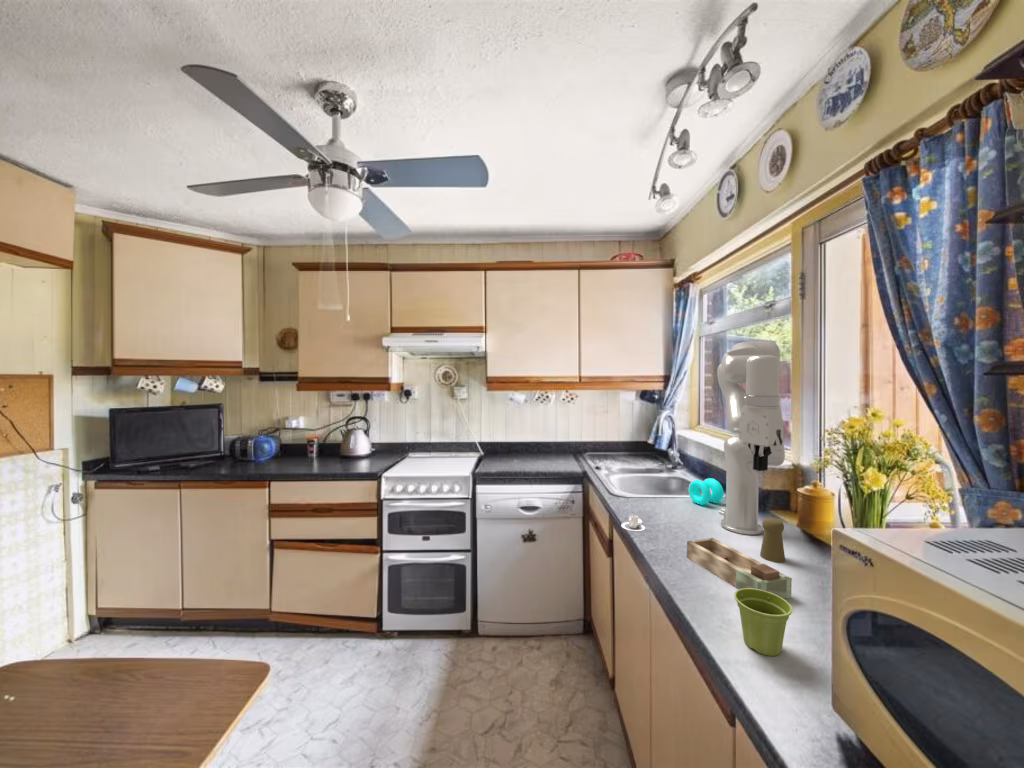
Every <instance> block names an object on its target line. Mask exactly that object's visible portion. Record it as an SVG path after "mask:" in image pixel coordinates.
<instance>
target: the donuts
mask: <svg viewBox="0 0 1024 768" xmlns="http://www.w3.org/2000/svg"><path fill="white" fill-rule="evenodd" d="M687 489H688V490H687V491H688V495H689V497H690V499H691V501H692V502H693V503H695V504H696V503H697V504H696V505H698V504H700V505H699V506H705V505H707V504H708V503H711V502H713V503H712V504H718V503H720V502H721V501H722V500H723V498H724V494H725V493H724V488H723V486H722V484H721V483H720V481H718V480H716V479H715V478H712V477H711V478H710V477H708V478H705V479H704V480H701V479H694V480H692V481H691V482H690V483H689V484H688V488H687ZM710 489H711V490H710ZM700 491H701V492H700ZM709 501H710V502H709Z"/></svg>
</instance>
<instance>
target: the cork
mask: <svg viewBox="0 0 1024 768" xmlns="http://www.w3.org/2000/svg"><path fill="white" fill-rule="evenodd" d="M761 524H762V525H761V526H762V527H763V536H762V543H761V547H760V553H759V555H760V557H761V558H762V559H764V560H766V561H769V562H772V563H785V562H786V557H785V556H786V555H785V547H784V542H783V534H782V533H783V532H784V531H785V526H784V523H783V521H781V520H780V519H778V518H772V517H766V518H764V519H763V520H762V523H761Z"/></svg>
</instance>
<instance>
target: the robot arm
mask: <svg viewBox="0 0 1024 768" xmlns="http://www.w3.org/2000/svg"><path fill="white" fill-rule="evenodd" d="M780 359H781V350H780V347H779V346H778V344H777V343H776V342H774V341H769V340H767V341H742V342H737V343H736V344H734V345H733V346H731V348H730V350H729V351H727V352H725V353H724V354H723V356H722V358H721V363H720V364H719V365H718V366H717V371H716V374H717V381H718V382H717V383H718V386H719V388H720V390H721V393H722V394H723V396H724V400H725V410H726V411H725V415H726V423H727V424H726V425H727V428H728V429H727V430H728V431H729V433H732V434H734V435H732V436H728V437H727V438H725V439H724V442H723V452H724V457H725V471H726V472H725V474H726V476H725V477H726V478H725V479H726V480H725V481H726V482H725V483H726V487H725V489H726V490H725V500H726V501H725V507H722V508H721V509H720V510H718V514H719V515H721V516H723V518H722V519H721V520H720V526H721V527H722V528H724V529H726V530H727V531H730V532H733V533H736V534H741V535H750V536H751V535H752V536H754V535H755V536H756V535H760V534H764V528H763V525H761V524H759V481H760V480H759V477H758V475H757V474H756V473H755V471H757V472H764V471H768V467H779V466H781V465H783V463H784V462H785V460H786V459H785V457H786V453H785V452H786V450H785V444H784V421H783V415H782V414H783V413H782V410H781V408H780V378H781V377H780V376H781V374H782V362H781V361H780ZM740 384H745V388H744V387H743V386H741V385H740ZM750 466H752V468H751V467H750ZM754 470H755V471H754Z"/></svg>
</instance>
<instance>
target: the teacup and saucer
mask: <svg viewBox="0 0 1024 768" xmlns="http://www.w3.org/2000/svg"><path fill="white" fill-rule="evenodd" d="M626 525H629V527H630V528H632V529H630V528H627V527H626ZM638 526H639V527H641V528H639V529H636V528H638ZM621 528H623V529H625V530H626V531H631V532H641V531H644V530H646V527H645V525H643V520H642V519H641V518H639V516H638V515H635V514H630V515H628V521H626V522H623V523H621Z"/></svg>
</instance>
